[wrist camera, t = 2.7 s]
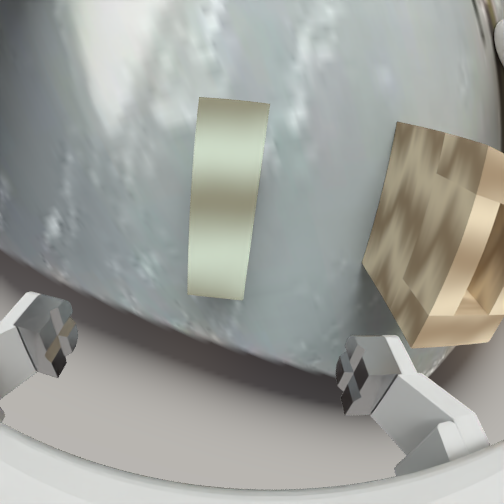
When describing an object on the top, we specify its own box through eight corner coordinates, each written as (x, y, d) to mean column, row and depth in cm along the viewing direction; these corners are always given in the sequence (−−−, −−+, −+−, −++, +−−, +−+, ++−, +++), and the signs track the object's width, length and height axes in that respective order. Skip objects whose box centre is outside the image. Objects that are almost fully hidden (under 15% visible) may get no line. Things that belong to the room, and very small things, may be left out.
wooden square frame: (430, 270, 29) (488, 342, 19) (361, 262, 29) (411, 348, 18) (468, 147, 23) (556, 184, 12) (397, 121, 22) (488, 145, 12)
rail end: (244, 240, 28) (242, 300, 20) (204, 236, 27) (187, 294, 19) (262, 104, 22) (269, 104, 14) (216, 99, 22) (199, 97, 14)
